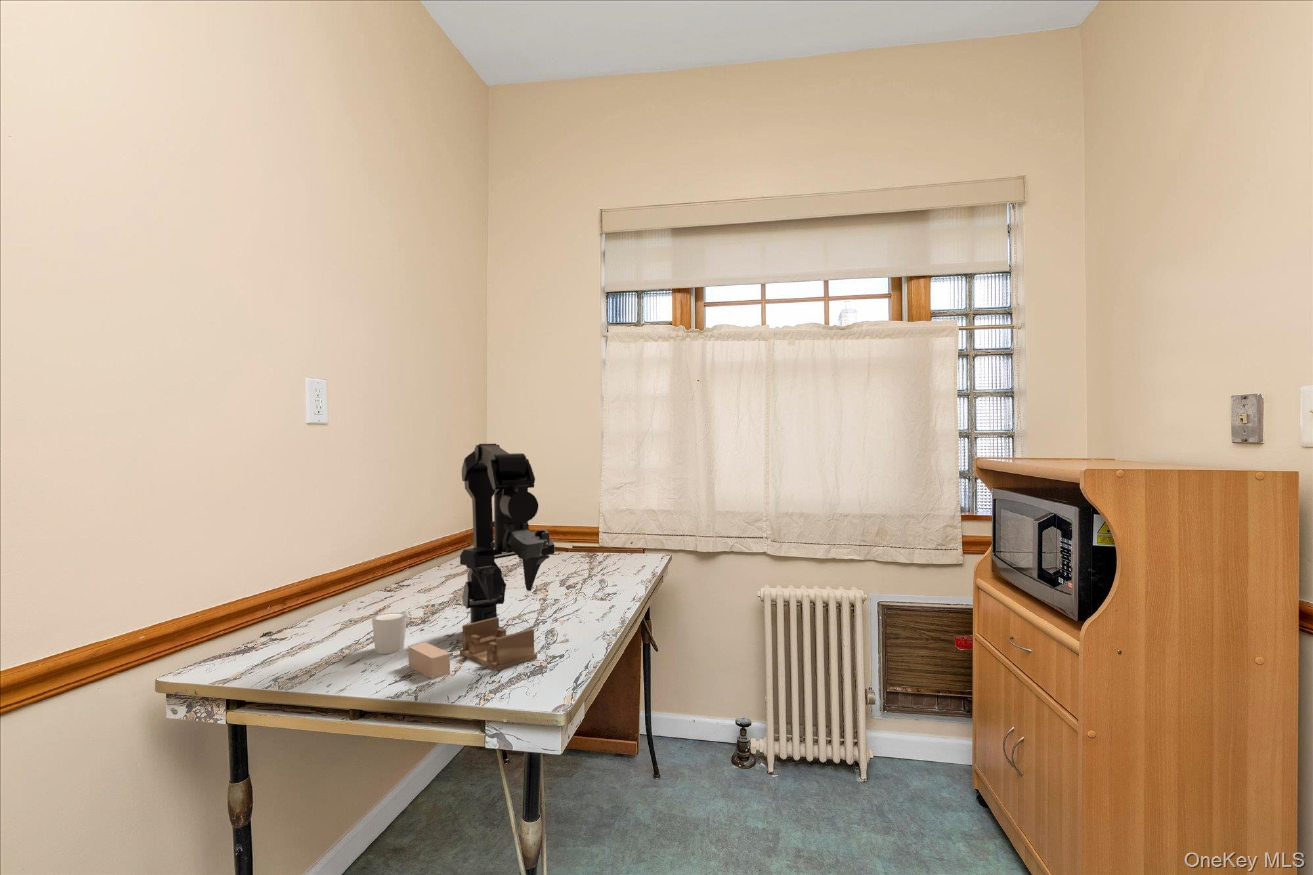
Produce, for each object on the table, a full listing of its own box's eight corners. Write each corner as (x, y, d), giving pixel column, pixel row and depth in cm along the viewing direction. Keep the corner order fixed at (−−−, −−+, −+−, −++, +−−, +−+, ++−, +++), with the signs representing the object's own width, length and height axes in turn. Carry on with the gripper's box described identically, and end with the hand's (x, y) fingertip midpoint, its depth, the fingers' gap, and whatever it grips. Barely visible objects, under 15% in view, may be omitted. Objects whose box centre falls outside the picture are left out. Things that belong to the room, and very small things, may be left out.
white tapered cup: (414, 646, 129) (414, 613, 130) (388, 656, 123) (387, 622, 123) (391, 642, 132) (391, 610, 132) (364, 652, 126) (364, 618, 126)
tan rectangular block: (408, 667, 118) (408, 646, 118) (425, 662, 120) (425, 642, 120) (432, 680, 111) (432, 658, 111) (450, 674, 113) (449, 653, 113)
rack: (460, 653, 124) (459, 625, 124) (498, 642, 131) (497, 616, 131) (497, 670, 114) (497, 640, 114) (536, 658, 121) (536, 629, 121)
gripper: (491, 525, 107) (492, 613, 106) (571, 514, 121) (572, 592, 120) (458, 520, 114) (458, 602, 114) (537, 511, 128) (538, 584, 128)
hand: (509, 595), depth 119 cm, fingers open, 9 cm apart
